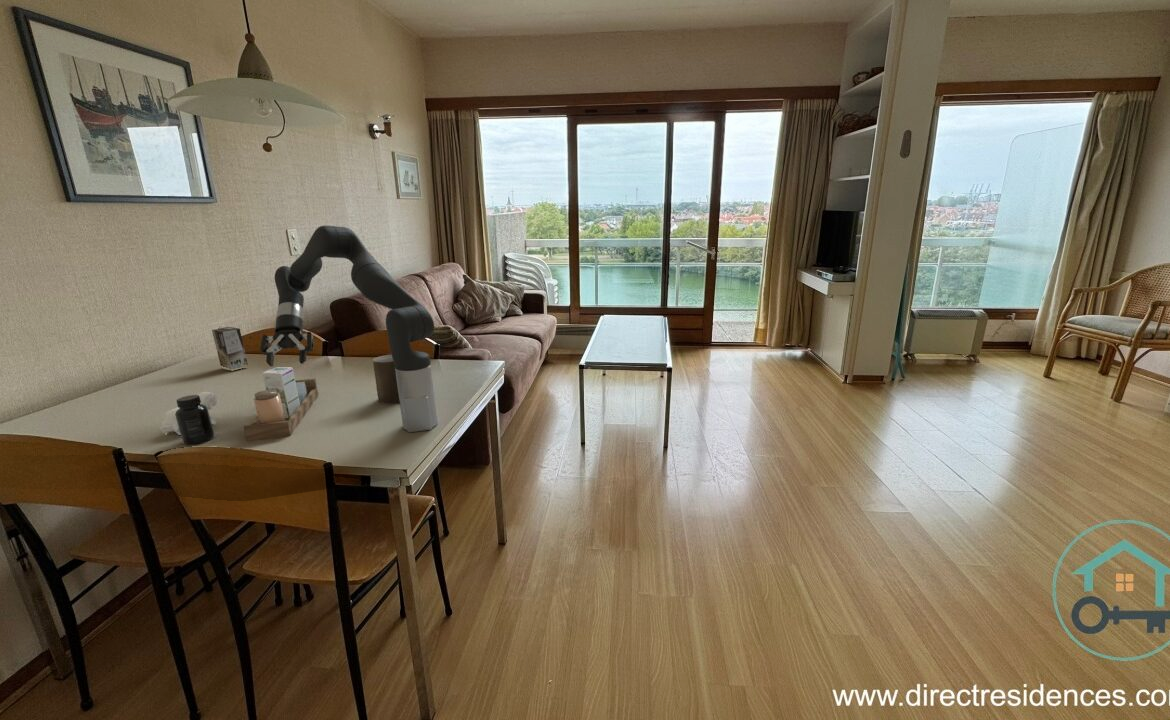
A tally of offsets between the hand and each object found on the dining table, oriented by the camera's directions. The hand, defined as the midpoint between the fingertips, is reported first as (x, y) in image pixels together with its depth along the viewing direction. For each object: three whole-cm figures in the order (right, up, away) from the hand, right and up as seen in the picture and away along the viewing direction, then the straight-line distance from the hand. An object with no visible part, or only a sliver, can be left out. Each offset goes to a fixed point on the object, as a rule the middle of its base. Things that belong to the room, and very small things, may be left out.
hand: (286, 363), depth 151 cm
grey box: (0, -12, +5) cm, 13 cm away
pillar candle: (+31, -12, +7) cm, 34 cm away
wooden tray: (+3, -16, -5) cm, 17 cm away
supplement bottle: (-11, -20, -20) cm, 31 cm away
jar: (+6, -18, -15) cm, 25 cm away
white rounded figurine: (-19, -18, -11) cm, 29 cm away
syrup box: (+3, -16, -5) cm, 17 cm away
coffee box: (-47, -2, +45) cm, 65 cm away
